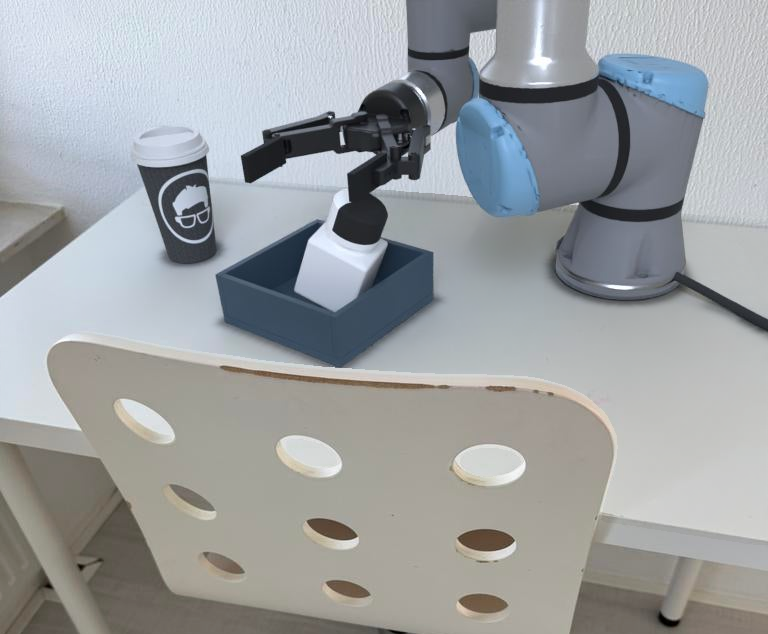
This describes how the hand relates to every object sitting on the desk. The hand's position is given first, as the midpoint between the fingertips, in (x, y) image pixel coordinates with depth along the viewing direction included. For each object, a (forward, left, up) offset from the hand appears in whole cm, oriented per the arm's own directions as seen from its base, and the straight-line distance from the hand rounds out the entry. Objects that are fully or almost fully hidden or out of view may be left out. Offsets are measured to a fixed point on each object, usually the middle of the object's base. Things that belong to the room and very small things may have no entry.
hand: (296, 178), depth 77 cm
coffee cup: (+26, -6, -17) cm, 32 cm away
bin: (0, -4, -17) cm, 17 cm away
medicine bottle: (0, -4, -14) cm, 15 cm away
